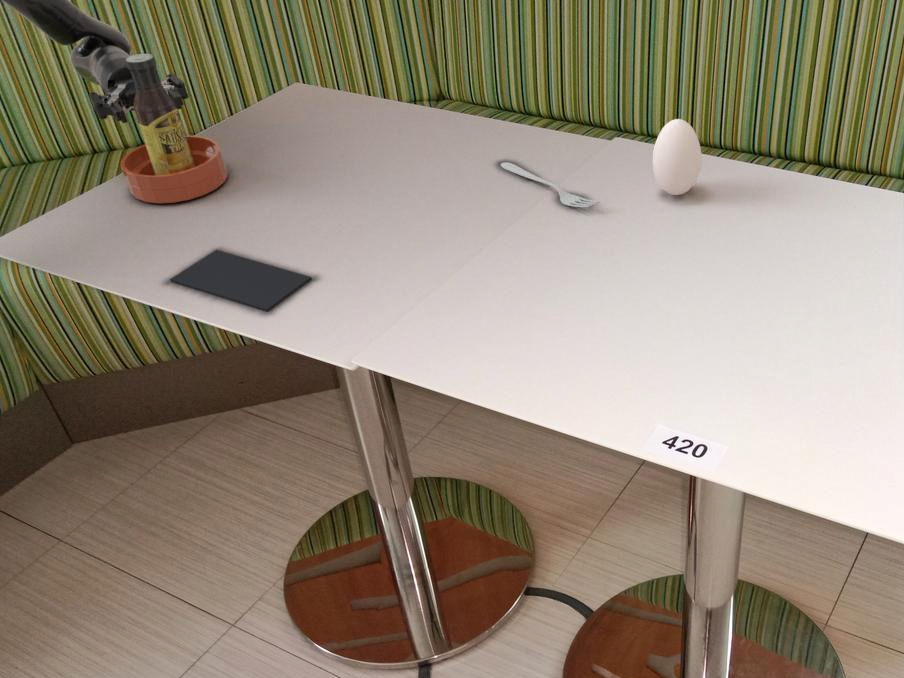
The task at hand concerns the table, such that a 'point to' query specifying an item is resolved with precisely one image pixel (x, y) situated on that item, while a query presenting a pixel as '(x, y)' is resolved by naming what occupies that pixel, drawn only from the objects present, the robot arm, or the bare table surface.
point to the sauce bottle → (158, 119)
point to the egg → (676, 157)
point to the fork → (564, 196)
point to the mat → (241, 280)
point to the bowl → (179, 184)
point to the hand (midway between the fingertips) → (151, 109)
